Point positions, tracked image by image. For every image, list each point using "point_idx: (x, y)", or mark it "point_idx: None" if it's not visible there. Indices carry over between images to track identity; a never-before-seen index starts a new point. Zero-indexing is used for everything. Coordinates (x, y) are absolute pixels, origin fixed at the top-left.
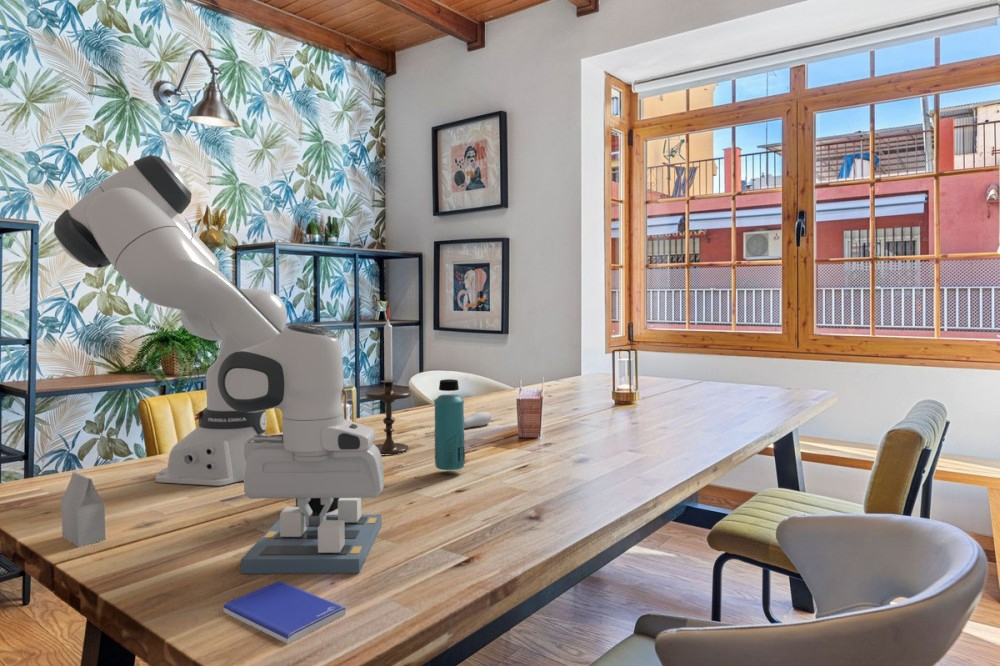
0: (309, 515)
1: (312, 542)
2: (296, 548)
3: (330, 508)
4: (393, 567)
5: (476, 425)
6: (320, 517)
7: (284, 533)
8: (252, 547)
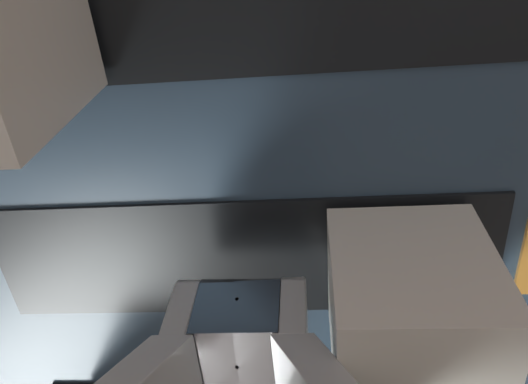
0: (270, 336)
1: (221, 141)
2: (290, 13)
3: None
4: None
5: None
6: (182, 324)
7: (446, 216)
8: None
